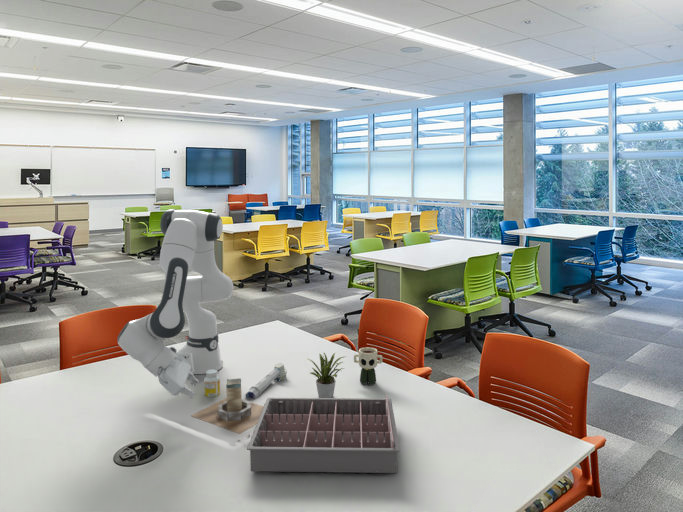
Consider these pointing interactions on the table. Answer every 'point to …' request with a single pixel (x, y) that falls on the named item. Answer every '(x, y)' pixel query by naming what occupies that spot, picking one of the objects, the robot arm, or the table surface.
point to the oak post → (234, 395)
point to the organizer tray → (325, 436)
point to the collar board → (230, 424)
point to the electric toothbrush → (267, 381)
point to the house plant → (326, 376)
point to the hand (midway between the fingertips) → (195, 389)
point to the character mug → (367, 364)
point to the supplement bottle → (212, 383)
